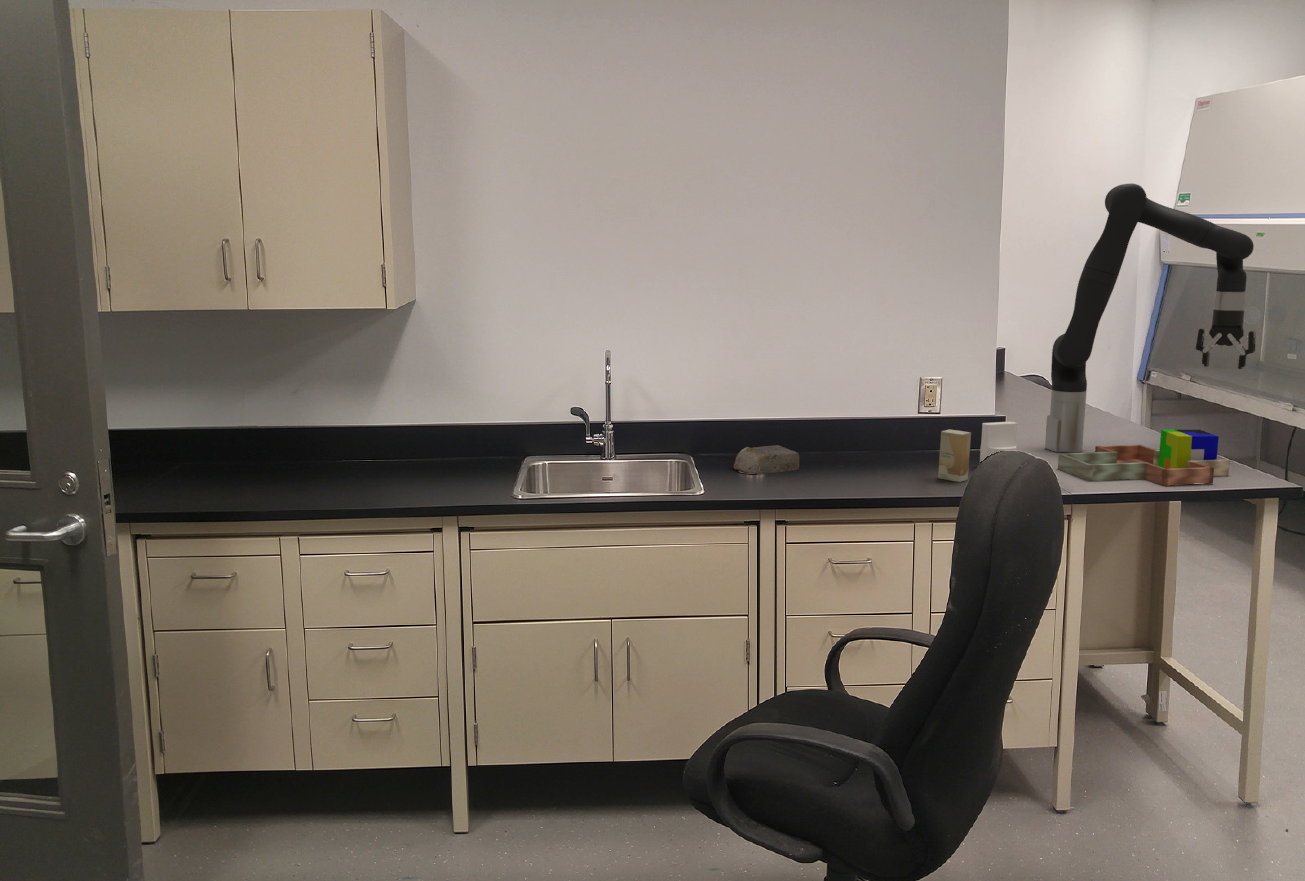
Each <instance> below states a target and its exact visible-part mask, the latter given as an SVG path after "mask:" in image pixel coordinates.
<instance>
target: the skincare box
mask: <svg viewBox="0 0 1305 881" xmlns="http://www.w3.org/2000/svg"><path fill="white" fill-rule="evenodd" d="M971 439H972V432H970V431H969V432H968V431H964V430H963V431H962V430H957V429H955V430H954V429H946V430H941V432H940V445H939V458H938V459H939V460H938V461H939V462H938V470H937V471H938V474H937V478H938V479H940V480H946V481H952V482H956V483H960V482H964V481H967V480H968V479H969V465H970V452H971V442H972V441H971Z"/></svg>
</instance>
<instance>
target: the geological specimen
mask: <svg viewBox="0 0 1305 881" xmlns="http://www.w3.org/2000/svg"><path fill="white" fill-rule="evenodd" d="M732 468H734V469H735V470H737V471H740V472H743V473H747V474H753V475H765V474H774V473H775V474H776V473H783V472H791V471H798V470H799V468H800V455H799V453H798V452H796V450H791V449H789V448H787V447H783V446H782V445H778V444H775V445H765V446H758V447H749V446H746V447H744V448H743V449H741V450H740V451H739V453H737V454H736V457H735V461H734V464H733V466H732Z"/></svg>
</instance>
